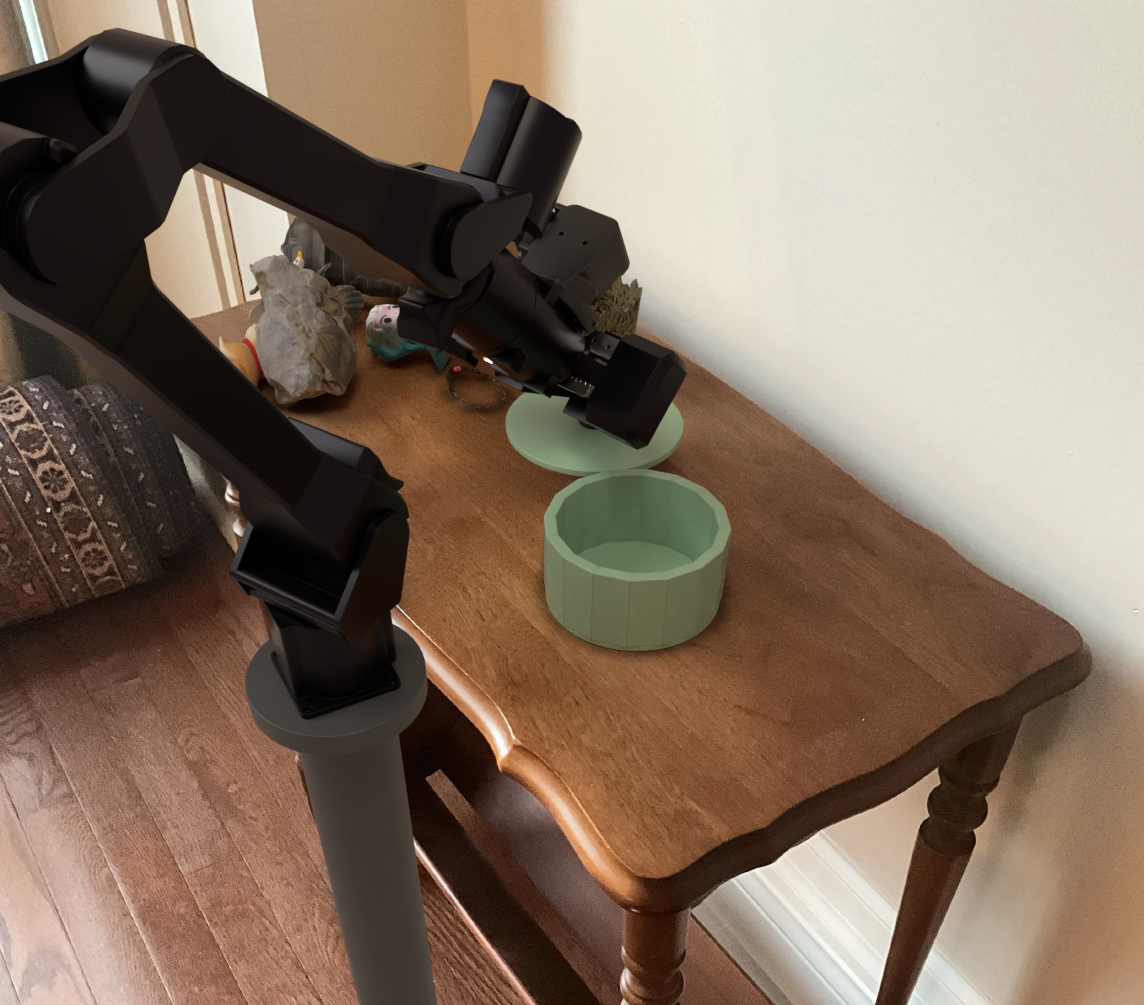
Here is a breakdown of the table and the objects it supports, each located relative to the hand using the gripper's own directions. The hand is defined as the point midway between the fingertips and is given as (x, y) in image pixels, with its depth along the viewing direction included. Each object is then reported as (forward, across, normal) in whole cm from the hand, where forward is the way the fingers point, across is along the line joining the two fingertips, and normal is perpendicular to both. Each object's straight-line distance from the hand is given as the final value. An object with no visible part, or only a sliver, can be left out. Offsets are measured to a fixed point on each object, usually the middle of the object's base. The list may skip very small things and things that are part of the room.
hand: (607, 399), depth 85 cm
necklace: (+5, +16, +3) cm, 17 cm away
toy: (-7, +30, +13) cm, 33 cm away
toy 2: (+10, +28, -6) cm, 30 cm away
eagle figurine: (0, +39, +4) cm, 39 cm away
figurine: (+2, +20, -1) cm, 20 cm away
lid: (0, 0, +2) cm, 2 cm away
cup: (+11, +10, -2) cm, 15 cm away
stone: (+1, +28, +7) cm, 29 cm away
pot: (-2, -11, +11) cm, 16 cm away
